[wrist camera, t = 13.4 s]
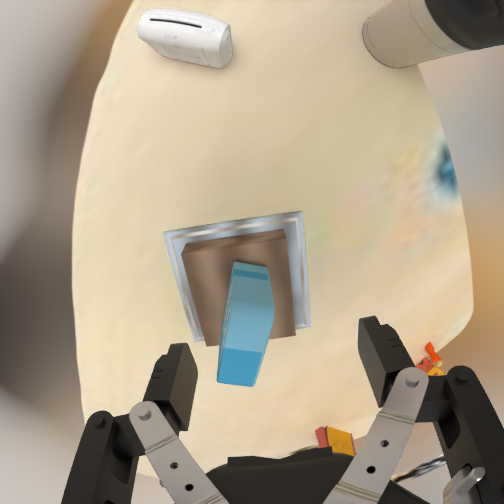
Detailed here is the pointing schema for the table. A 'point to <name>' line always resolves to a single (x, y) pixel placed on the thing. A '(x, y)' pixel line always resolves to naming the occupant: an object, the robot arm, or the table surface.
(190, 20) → the photo printer
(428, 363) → the toy building block set
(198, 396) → the table surface
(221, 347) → the data package
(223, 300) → the base
